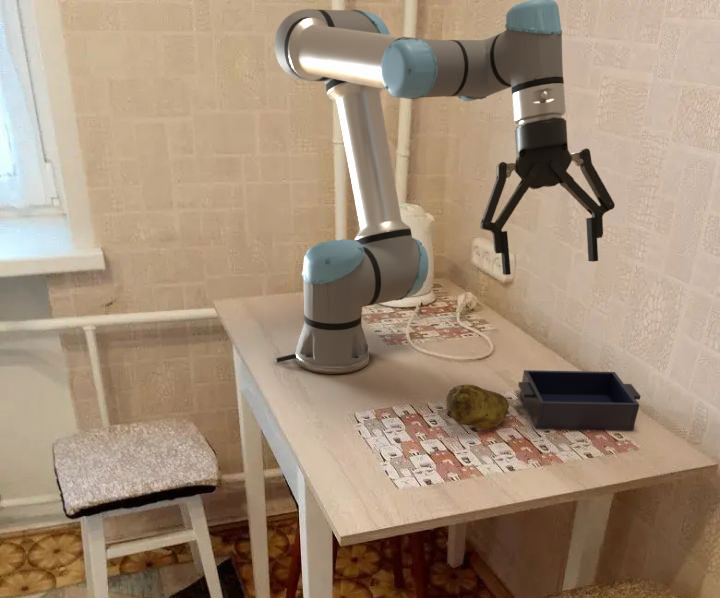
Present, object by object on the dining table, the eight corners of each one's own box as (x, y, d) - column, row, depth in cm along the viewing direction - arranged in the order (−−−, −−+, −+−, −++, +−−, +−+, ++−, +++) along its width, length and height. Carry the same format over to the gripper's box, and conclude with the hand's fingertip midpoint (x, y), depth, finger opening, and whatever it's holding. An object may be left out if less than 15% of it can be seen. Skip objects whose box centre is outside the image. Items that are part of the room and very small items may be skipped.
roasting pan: (535, 428, 130) (540, 403, 127) (519, 394, 142) (523, 370, 139) (633, 430, 131) (639, 404, 128) (609, 396, 142) (614, 371, 140)
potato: (520, 432, 129) (527, 391, 124) (451, 440, 126) (455, 398, 121) (500, 411, 135) (506, 371, 131) (434, 418, 132) (438, 377, 128)
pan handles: (523, 397, 132) (524, 394, 131) (518, 385, 136) (518, 381, 136) (639, 399, 132) (640, 396, 132) (630, 387, 137) (631, 383, 136)
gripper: (459, 131, 107) (474, 280, 114) (632, 103, 106) (637, 255, 112) (454, 138, 114) (468, 278, 121) (616, 111, 113) (621, 255, 119)
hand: (549, 267), depth 116 cm, fingers open, 13 cm apart
